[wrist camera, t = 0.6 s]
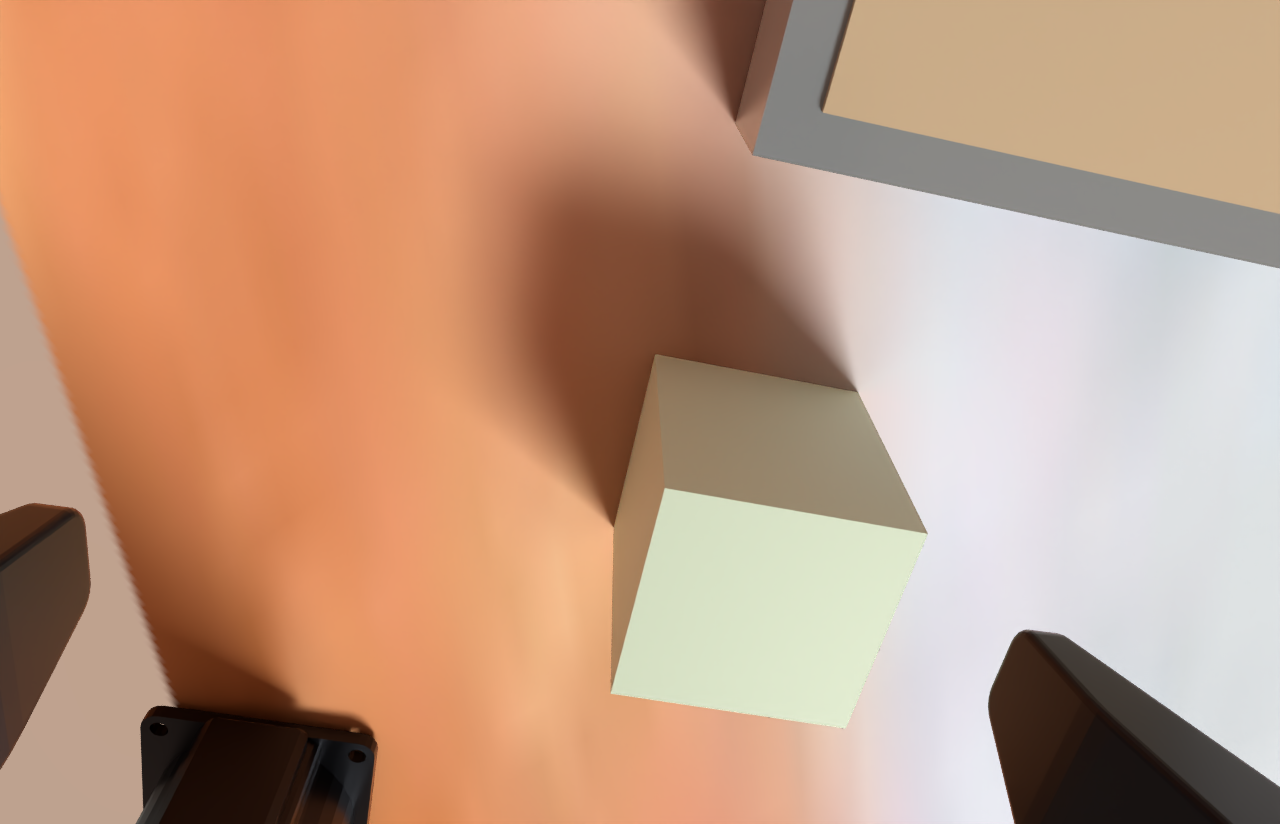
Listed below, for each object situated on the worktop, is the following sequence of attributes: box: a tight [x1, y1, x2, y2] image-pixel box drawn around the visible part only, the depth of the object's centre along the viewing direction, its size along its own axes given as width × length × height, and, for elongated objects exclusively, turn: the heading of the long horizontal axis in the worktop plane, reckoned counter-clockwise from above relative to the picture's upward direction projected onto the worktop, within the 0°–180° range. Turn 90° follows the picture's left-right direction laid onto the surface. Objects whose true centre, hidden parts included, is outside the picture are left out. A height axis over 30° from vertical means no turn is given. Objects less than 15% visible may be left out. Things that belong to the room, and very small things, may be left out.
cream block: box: [611, 354, 928, 729], centre depth 21 cm, size 5×5×6 cm
